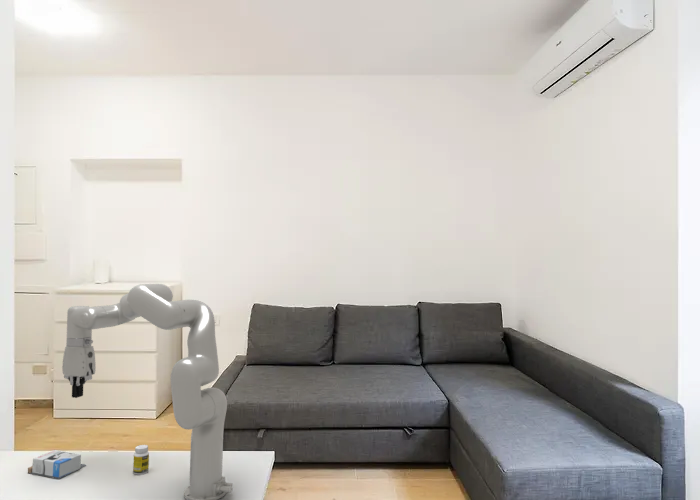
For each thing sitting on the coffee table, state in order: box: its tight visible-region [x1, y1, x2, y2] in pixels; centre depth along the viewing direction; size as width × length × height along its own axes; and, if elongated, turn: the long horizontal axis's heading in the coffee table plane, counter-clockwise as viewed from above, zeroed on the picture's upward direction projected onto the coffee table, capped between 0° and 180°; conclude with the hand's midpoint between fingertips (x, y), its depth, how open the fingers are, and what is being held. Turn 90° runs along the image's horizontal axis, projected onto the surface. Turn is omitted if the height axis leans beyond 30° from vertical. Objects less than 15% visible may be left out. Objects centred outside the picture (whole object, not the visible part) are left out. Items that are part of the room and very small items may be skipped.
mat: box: [27, 463, 87, 480], centre depth 165 cm, size 13×11×2 cm
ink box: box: [32, 449, 82, 479], centre depth 164 cm, size 8×5×12 cm
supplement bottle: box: [132, 444, 150, 476], centre depth 165 cm, size 5×5×8 cm
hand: (77, 396), depth 167 cm, fingers closed
